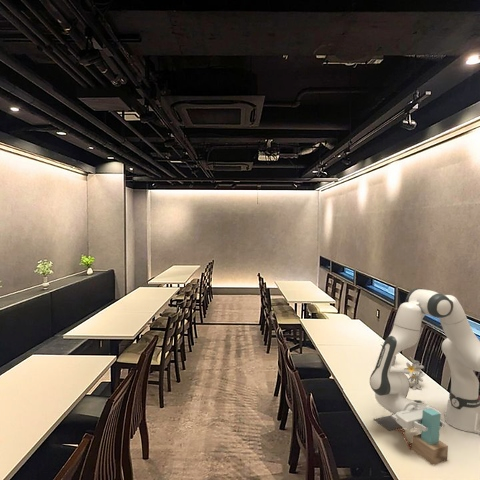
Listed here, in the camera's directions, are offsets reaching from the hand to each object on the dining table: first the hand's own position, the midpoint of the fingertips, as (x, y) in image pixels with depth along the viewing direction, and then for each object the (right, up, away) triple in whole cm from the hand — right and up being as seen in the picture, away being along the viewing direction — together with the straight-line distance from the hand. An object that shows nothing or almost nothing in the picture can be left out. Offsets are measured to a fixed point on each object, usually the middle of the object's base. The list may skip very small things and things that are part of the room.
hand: (434, 427), depth 147 cm
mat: (-7, -11, +26) cm, 29 cm away
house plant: (+23, -9, +99) cm, 102 cm away
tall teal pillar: (-1, -7, +2) cm, 7 cm away
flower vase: (+18, -10, +72) cm, 75 cm away
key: (-5, -12, +13) cm, 19 cm away
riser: (-1, -12, +2) cm, 13 cm away
